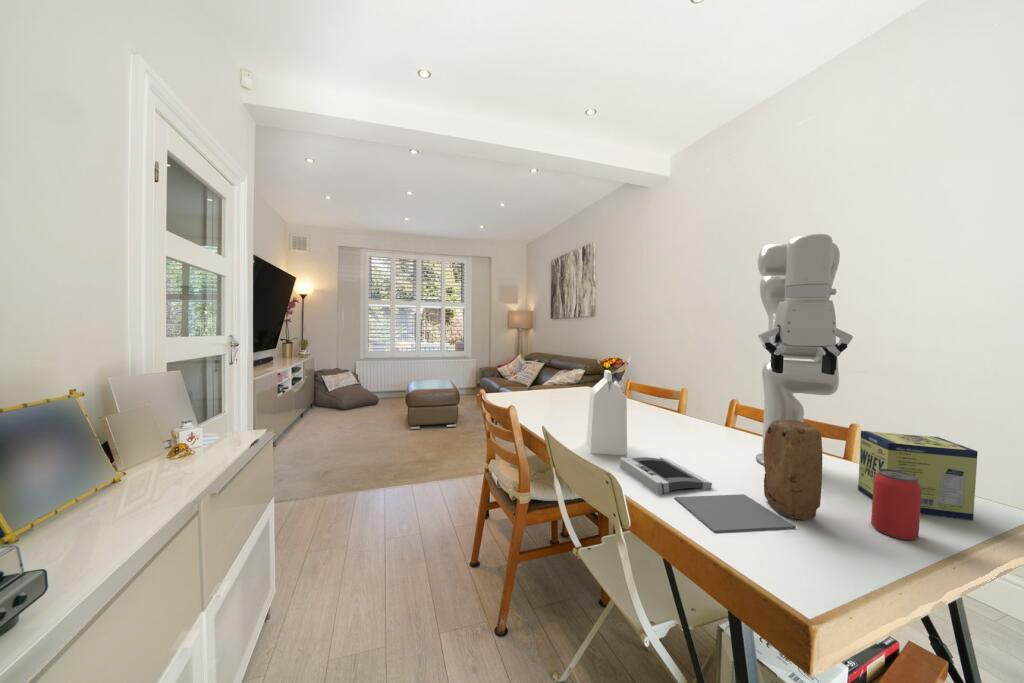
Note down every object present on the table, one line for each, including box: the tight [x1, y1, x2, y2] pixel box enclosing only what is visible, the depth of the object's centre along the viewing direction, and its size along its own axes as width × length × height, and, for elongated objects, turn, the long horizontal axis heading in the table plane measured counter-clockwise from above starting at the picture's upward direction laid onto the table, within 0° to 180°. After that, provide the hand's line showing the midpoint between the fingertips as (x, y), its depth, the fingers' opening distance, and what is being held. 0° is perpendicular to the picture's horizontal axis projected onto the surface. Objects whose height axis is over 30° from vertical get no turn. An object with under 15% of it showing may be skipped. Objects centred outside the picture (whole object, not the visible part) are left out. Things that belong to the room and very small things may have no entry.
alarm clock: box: [619, 456, 713, 495], centre depth 97 cm, size 17×5×16 cm
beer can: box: [870, 469, 922, 541], centre depth 72 cm, size 7×7×12 cm
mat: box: [674, 493, 797, 533], centre depth 79 cm, size 18×14×1 cm
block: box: [763, 420, 823, 521], centre depth 80 cm, size 11×8×20 cm
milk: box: [586, 369, 628, 456], centre depth 120 cm, size 12×12×26 cm
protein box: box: [857, 430, 979, 521], centre depth 84 cm, size 10×16×16 cm
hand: (802, 373), depth 78 cm, fingers open, 9 cm apart
